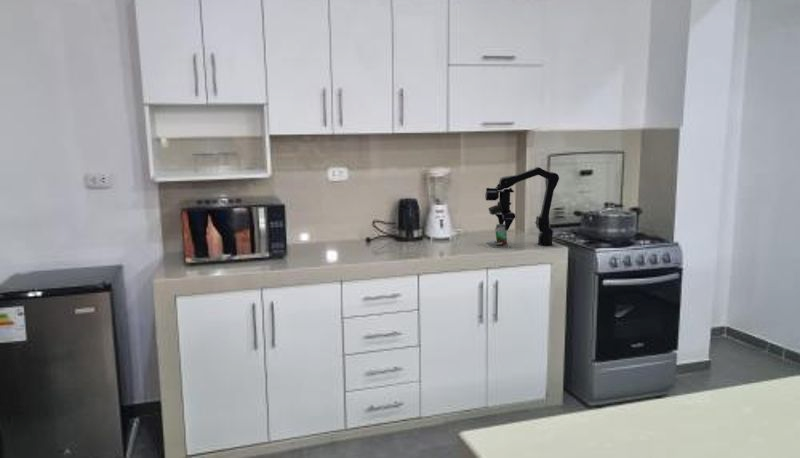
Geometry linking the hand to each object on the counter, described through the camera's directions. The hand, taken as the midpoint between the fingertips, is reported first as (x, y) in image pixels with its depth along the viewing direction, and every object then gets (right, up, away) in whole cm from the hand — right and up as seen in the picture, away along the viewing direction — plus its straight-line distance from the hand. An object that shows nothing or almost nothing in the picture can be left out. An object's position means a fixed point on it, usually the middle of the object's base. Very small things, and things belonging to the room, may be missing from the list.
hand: (503, 228), depth 321 cm
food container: (0, -8, 0) cm, 8 cm away
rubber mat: (-4, -9, 0) cm, 10 cm away
